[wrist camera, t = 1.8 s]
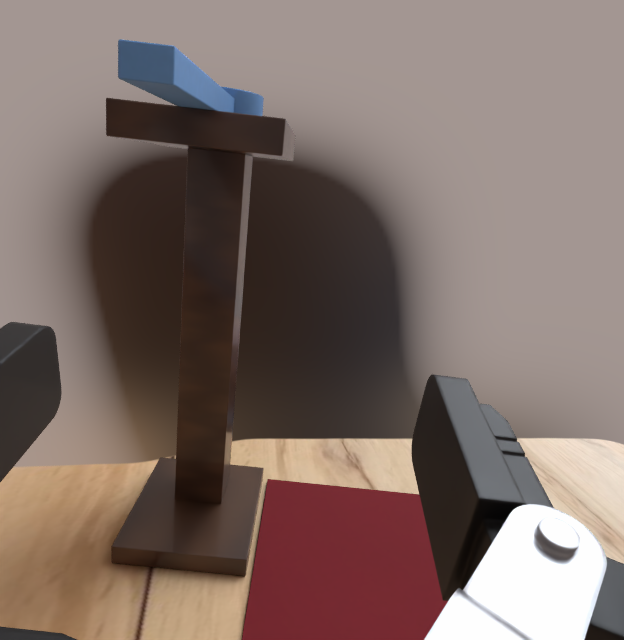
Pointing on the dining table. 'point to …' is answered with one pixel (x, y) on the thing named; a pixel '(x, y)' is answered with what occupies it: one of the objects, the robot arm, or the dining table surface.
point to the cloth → (341, 566)
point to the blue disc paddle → (179, 79)
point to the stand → (203, 342)
